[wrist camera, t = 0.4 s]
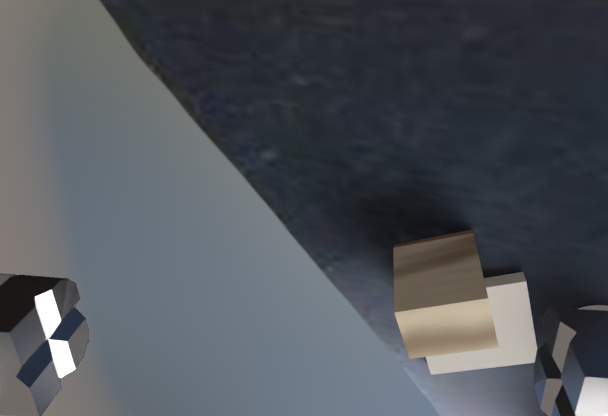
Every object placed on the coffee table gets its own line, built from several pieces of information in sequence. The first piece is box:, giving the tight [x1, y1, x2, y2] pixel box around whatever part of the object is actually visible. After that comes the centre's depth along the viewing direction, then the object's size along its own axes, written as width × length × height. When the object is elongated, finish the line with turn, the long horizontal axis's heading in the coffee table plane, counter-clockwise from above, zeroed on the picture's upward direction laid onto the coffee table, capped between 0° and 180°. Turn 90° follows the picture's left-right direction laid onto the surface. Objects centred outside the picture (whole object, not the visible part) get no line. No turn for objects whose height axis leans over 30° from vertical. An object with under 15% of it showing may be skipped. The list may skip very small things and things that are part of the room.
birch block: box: [393, 230, 499, 359], centre depth 51 cm, size 6×8×10 cm
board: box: [426, 272, 537, 375], centre depth 59 cm, size 12×12×2 cm
